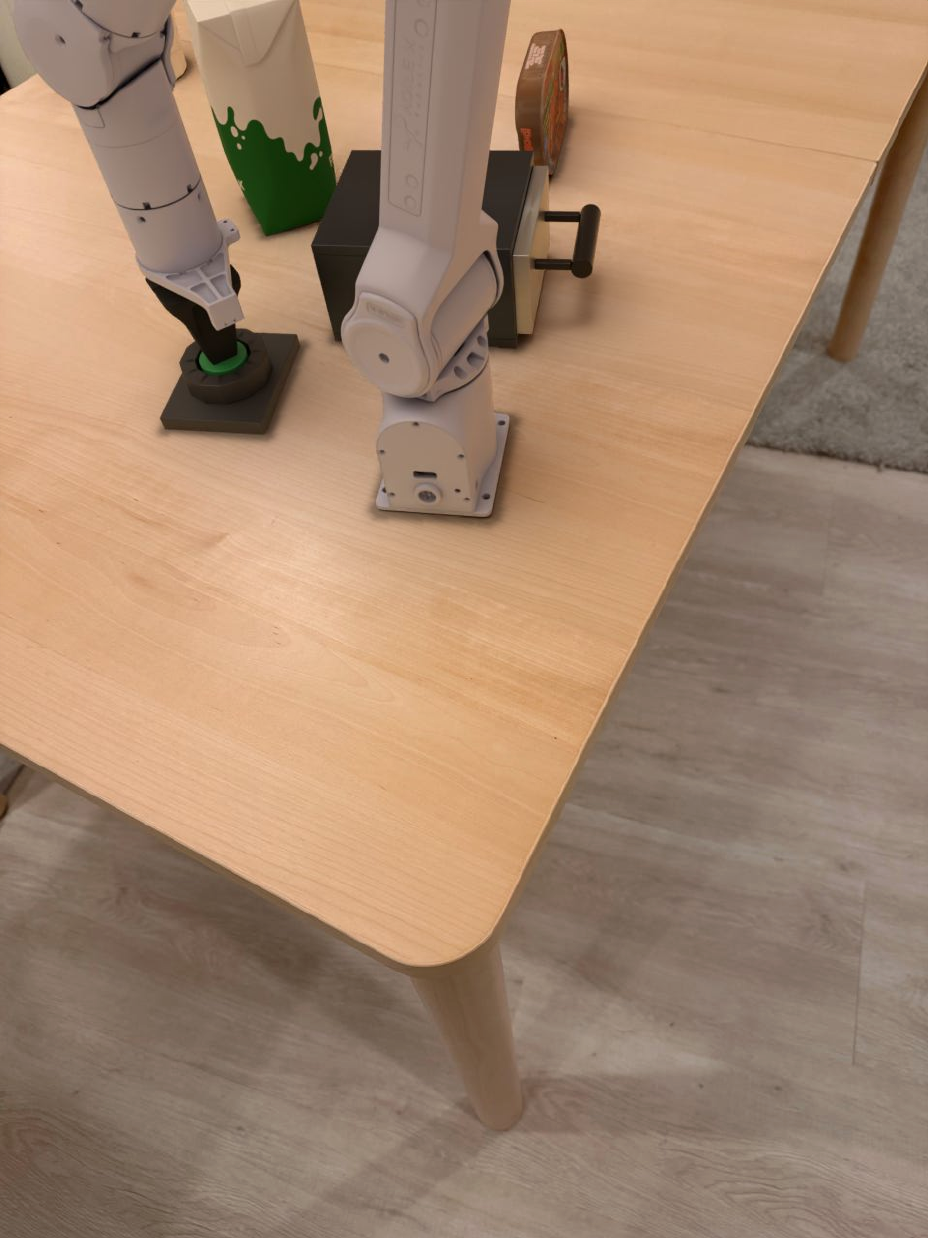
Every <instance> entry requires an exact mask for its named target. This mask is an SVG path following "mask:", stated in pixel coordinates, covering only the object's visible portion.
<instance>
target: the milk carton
mask: <svg viewBox="0 0 928 1238" xmlns="http://www.w3.org/2000/svg"><path fill="white" fill-rule="evenodd" d="M300 2H301V1H300V0H182V3H183V9H184V13H185V18H186V22H187V26H188V31H189V36H190V41H191V46H192V50H193V53H194V57H195V61H196V65H197V68H198V71H199V76H200V79H201V82H202V85H203V88H204V93H205V95H206V98H207V101H208V106H209V107H210V111H211V115H212V117H213V121H214V123H215V127H216V130H217V133H218V136H219V139H220V143H221V145H222V146H221V147H222V149H223V152H224V155H225V157H226V160H227V162H228V164H229V167H230V168H231V171H232V173H233V176H234V178H235V181H236V182H237V185H238V186H239V188H240V190H241V192H242V194H243V196H244V198H245V199H246V202H247V203H248V205H249V208H250V209H251V211H252V213H253V215H254V217H255V218H256V221H257V222H258V225H259V226H260V228H261V230H262V232H263V234H264V236H265V237H269V236H272V235H276V234H279V233H283V232H286V231H289V230H293V229H296V228H300V227H302V226H306V225H309V224H312V223H315V222H319V221H321V220H322V218H323V216H324V213H325V211H326V209H327V206H328V204H329V202H330V199H331V197H332V195H333V192H334V190H335V188H336V185H337V177H336V170H335V162H334V155H333V149H332V143H331V139H330V135H329V129H328V126H327V120H326V116H325V111H324V106H323V102H322V98H321V94H320V89H319V88H320V87H319V83H318V79H317V74H316V70H315V65H314V60H313V56H312V51H311V47H310V42H309V38H308V34H307V33H308V32H307V29H306V25H305V20H304V16H303V12H302V6H301V3H300Z"/></svg>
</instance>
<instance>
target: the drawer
mask: <svg viewBox="0 0 928 1238" xmlns="http://www.w3.org/2000/svg"><path fill="white" fill-rule="evenodd" d="M549 177H550V175H549V173H548V166H533V168H532V173H531V177H530V181H529V186H528V190H527V194H526V199H525V203H524V207H523V212H522V216H521V220H520V225H519V229H518V230H517V234H516V238H515V243H514V247H513V251H512V259H513V276H514V294H515V311H516V329H517V334H519V335H533V332H534V327H535V322H536V317H537V312H538V307H539V302H540V297H541V291H542V286H543V280H544V275H545V272H546V271H570V272H571V274H572V275H573V276H574V277H575V278H577V279H586V278H588V277H590V276H591V275H592V273H593V270H594V265H595V264H594V263H595V256H596V252H597V251H596V250H597V243H598V237H599V230H600V225H601V217H602V210H601V209H600V207H599V206H597V204H593V203H588V204H586V205H584V206H583V207H582V208H581V210H580V211H579V210H578V211H576V210H550V184H549V183H550V182H549V181H550V180H549V179H550V178H549ZM550 223H578V224H577V229H576V236H575V240H574V247H573V251H572V257H571V258H548V256H549V251H550V247H551V246H550V245H551V232H550V231H551V230H550Z"/></svg>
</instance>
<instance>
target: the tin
mask: <svg viewBox="0 0 928 1238" xmlns="http://www.w3.org/2000/svg"><path fill="white" fill-rule="evenodd" d="M569 70H570V69H569V53H568V43H567V38H566V33H565V31H564V30H563V28H558V29H557V30H556V29H555V30H545V31H544V30H543V31H542V30H541V31H536V32H535V33H533V35H532V36H531V38H530V41H529V44H528V47H527V50H526V53H525V56H524V60H523V63H522V66H521V69H520V72H519V76H518V80H517V83H516V88H515V98H514V124H515V131H516V134H517V142H518V150H533V152H534V166H548V173H549V176H552V175H553V174H554V172H555V170H556V167H557V162H558V159H559V154H560V152H561V146H562V143H563V140H564V135H565V131H566V129H567V122H568V115H569V103H570V75H569V73H570V71H569Z"/></svg>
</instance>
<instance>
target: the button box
mask: <svg viewBox="0 0 928 1238" xmlns="http://www.w3.org/2000/svg"><path fill="white" fill-rule="evenodd" d="M236 335H237V341H238V342H240V343H241V344H243V345H244V347H245V348H246V351H247V353H248V356H249V359H248V361H247V362H246V363H245V364H244V365H243V366H241V367H240V368H239V369H237V370H236V371H234V372H231V373H228V374H224V375H207V374H205V373H204V372H203V370H202V368H201V365H200V363H199V358H200V355H201V353H202V350H201V349H200V348H199V346H198V345H197V343H196V342H195V340H194V341H193V342H191V343H190V344H189V345H188V346H187V347H186V348H185V350H184V352H183V354H182V356H181V357H180V360H179V362H178V363H179V368H180V371H181V374H180V375H179V378H178V380H177V381H176V383H175V385H174V388H173V390H172V392H171V394H170V396H169V398H168V400H167V402H166V404H165V406H164V408H163V411H162V412H161V414H160V416H159V421H161V422H160V423H161V424H162V426H163V428H164V430H176V431H192V432H206V433H207V432H209V433H225V434H226V433H227V434H240V435H241V434H242V435H243V434H245V435H259V436H265V435H266V432H267V431H268V427H269V425H270V423H271V419H272V417H273V415H274V412H275V410H276V408H277V406H278V402H279V400H280V397H281V395H282V392H283V390H284V388H285V385H286V382H287V380H288V377H289V375H290V372H291V370H292V368H293V365H294V362H295V360H296V358H297V355H298V352H299V350H300V347H301V342H300V341H299V337H298V334H297V333H282V332H281V333H280V332H279V333H277V332H276V333H275V332H254V331H252V330H250V329H248V328H243V327H242V328H241V327H240V328H239V327H236Z"/></svg>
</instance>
